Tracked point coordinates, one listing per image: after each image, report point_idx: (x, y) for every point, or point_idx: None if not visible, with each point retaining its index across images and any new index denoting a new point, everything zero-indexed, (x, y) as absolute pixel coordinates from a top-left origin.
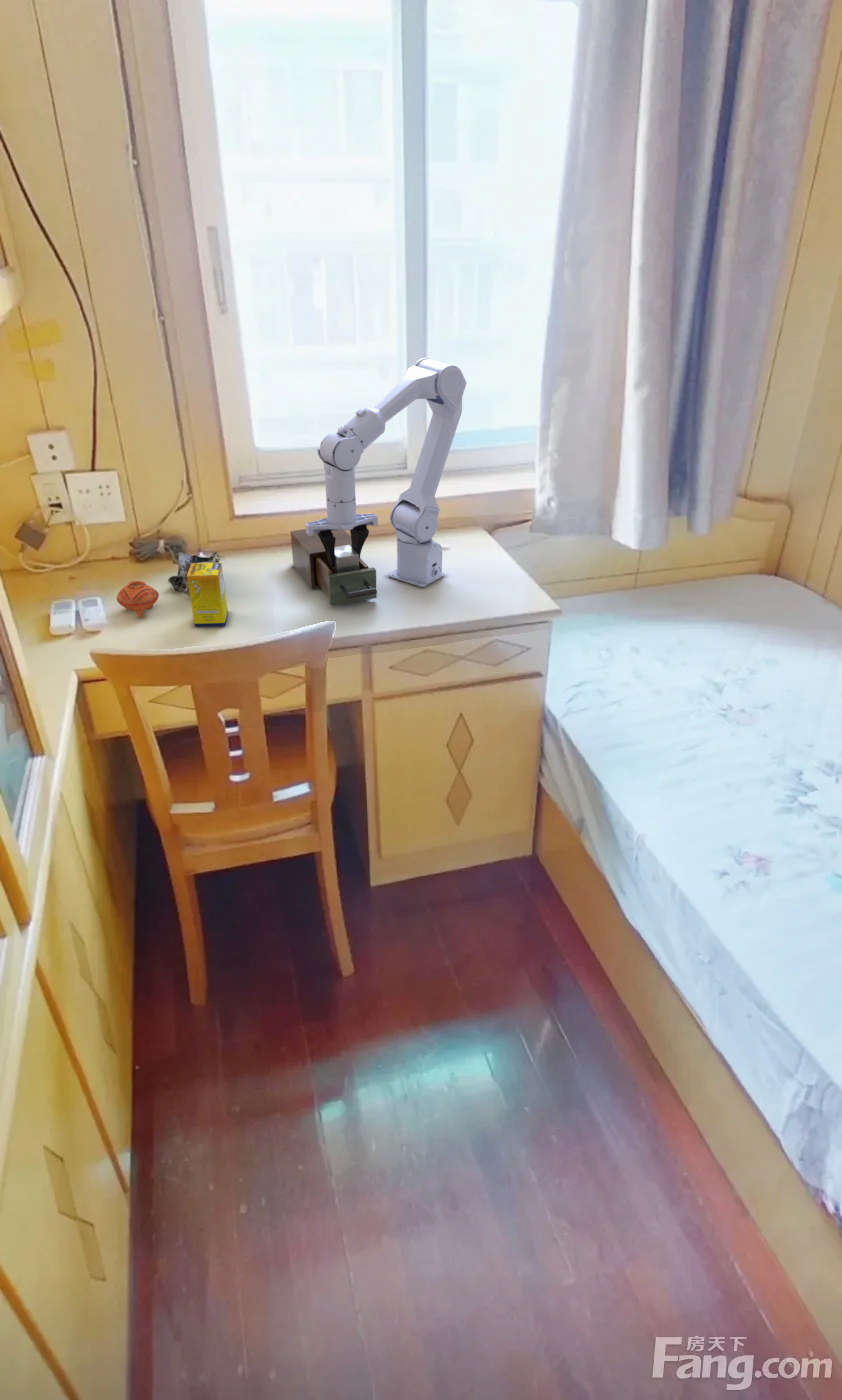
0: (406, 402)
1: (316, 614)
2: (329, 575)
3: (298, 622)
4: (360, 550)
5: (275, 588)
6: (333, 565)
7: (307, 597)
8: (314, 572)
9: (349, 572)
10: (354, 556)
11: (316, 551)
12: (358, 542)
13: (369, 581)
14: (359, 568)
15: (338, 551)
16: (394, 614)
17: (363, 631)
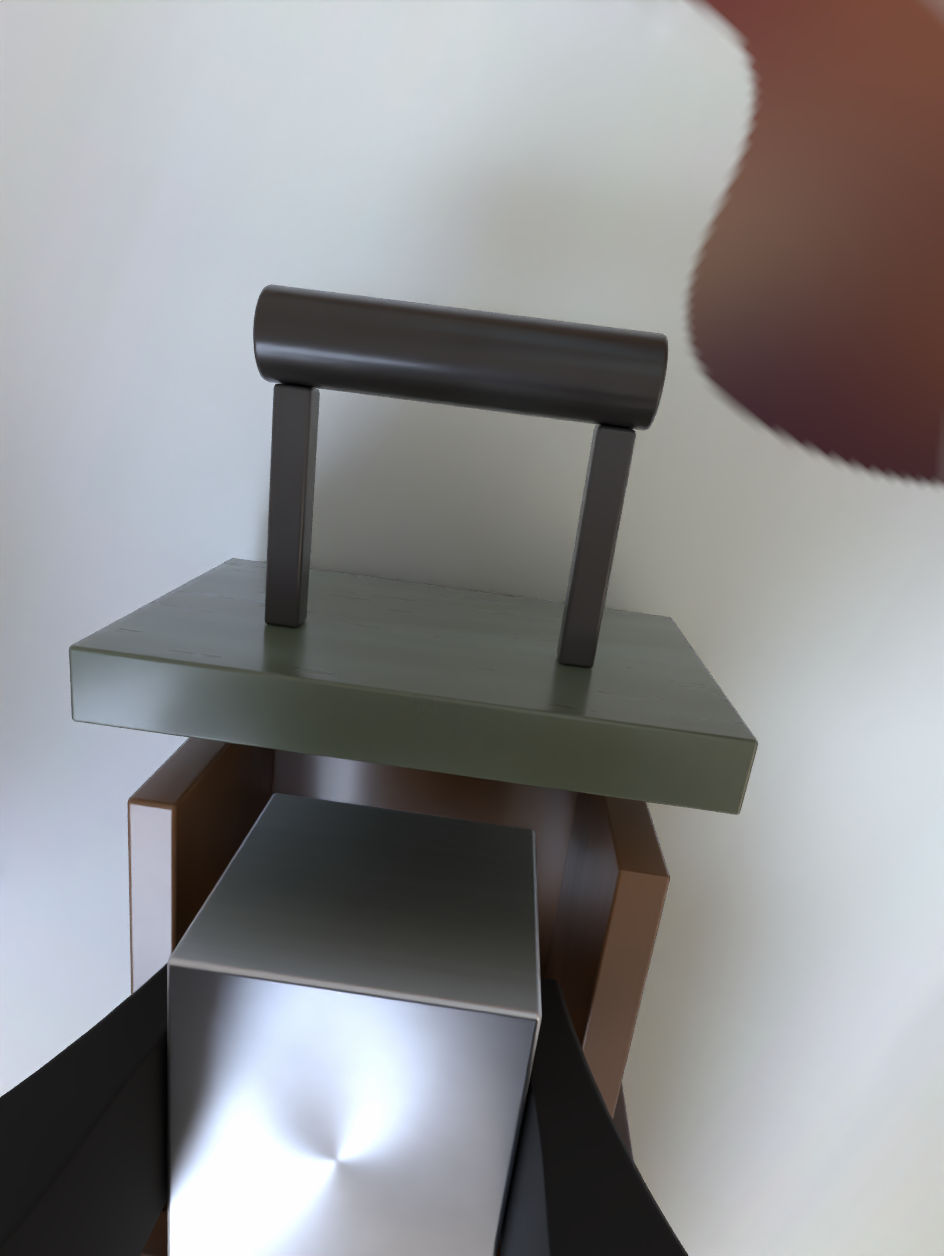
0: None
1: (807, 603)
2: (719, 795)
3: None
4: (86, 1044)
5: (821, 1117)
6: (544, 987)
7: (702, 895)
8: None
9: (435, 745)
10: (248, 950)
11: None
12: (23, 1189)
13: (231, 613)
14: None
15: (411, 1181)
16: (198, 237)
17: (627, 38)
